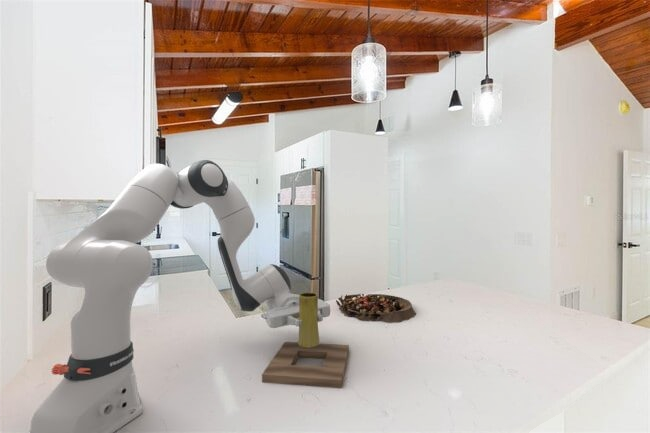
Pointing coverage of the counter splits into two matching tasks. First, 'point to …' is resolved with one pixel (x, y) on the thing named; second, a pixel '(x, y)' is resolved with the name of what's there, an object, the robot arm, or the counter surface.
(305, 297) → the vase
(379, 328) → the counter surface
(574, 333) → the counter surface
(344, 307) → the food dish
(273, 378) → the socket
